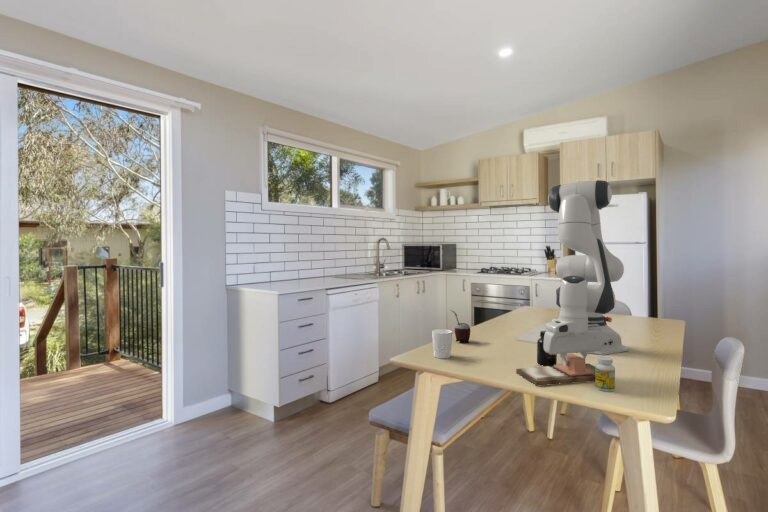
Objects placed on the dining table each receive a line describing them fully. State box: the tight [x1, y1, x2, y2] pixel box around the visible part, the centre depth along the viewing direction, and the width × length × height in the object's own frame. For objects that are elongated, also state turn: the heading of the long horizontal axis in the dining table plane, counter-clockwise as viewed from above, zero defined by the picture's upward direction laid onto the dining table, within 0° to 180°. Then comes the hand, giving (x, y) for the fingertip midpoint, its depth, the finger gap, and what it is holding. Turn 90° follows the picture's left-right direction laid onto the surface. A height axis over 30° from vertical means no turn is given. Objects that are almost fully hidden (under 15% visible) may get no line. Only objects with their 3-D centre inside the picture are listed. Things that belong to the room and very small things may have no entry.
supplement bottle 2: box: [594, 356, 616, 393], centre depth 130 cm, size 5×5×10 cm
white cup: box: [431, 328, 453, 359], centre depth 168 cm, size 8×8×10 cm
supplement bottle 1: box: [536, 330, 558, 367], centre depth 156 cm, size 7×7×12 cm
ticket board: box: [515, 363, 596, 387], centre depth 143 cm, size 28×13×2 cm, turn 101°
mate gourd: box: [450, 309, 471, 344], centre depth 190 cm, size 8×8×15 cm
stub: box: [554, 353, 594, 376], centre depth 143 cm, size 8×10×5 cm
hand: (573, 365), depth 143 cm, fingers closed on stub, 4 cm apart
